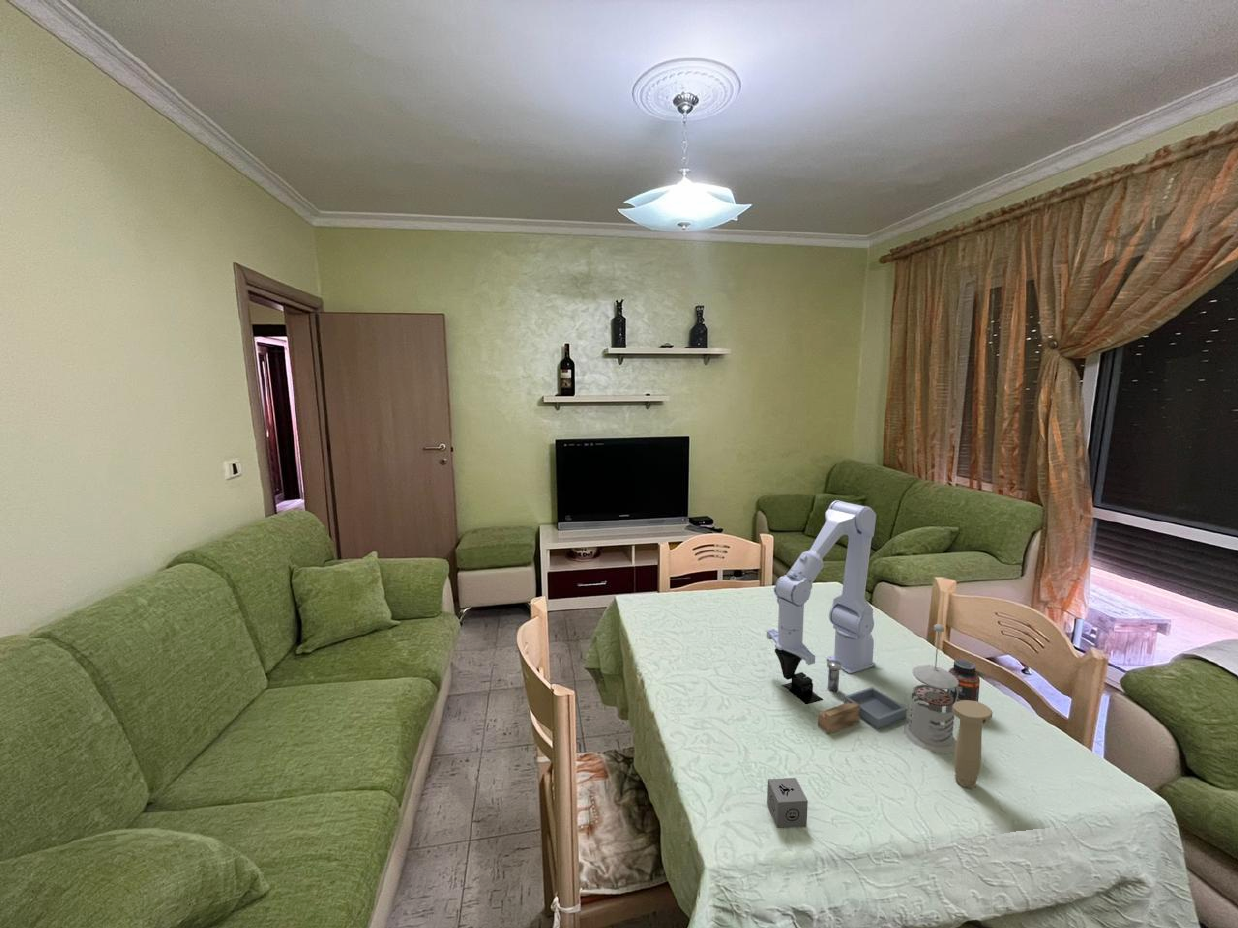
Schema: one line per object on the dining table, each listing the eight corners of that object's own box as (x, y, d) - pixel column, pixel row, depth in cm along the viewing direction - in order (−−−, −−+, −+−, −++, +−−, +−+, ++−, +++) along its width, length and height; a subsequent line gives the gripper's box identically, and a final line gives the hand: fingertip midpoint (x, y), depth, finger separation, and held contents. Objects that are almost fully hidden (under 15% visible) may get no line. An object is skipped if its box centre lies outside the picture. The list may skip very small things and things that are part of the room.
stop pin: (832, 684, 124) (834, 658, 123) (843, 691, 121) (844, 665, 120) (822, 687, 123) (824, 661, 122) (833, 694, 120) (834, 668, 119)
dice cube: (766, 804, 89) (767, 779, 88) (794, 802, 89) (795, 777, 88) (777, 828, 84) (778, 802, 83) (806, 827, 84) (807, 800, 83)
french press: (892, 728, 108) (900, 619, 104) (929, 714, 112) (937, 609, 109) (937, 759, 99) (947, 640, 95) (974, 742, 103) (985, 628, 100)
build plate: (832, 705, 117) (833, 687, 116) (807, 713, 114) (808, 695, 114) (795, 677, 128) (796, 660, 128) (772, 684, 126) (772, 667, 125)
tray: (871, 696, 119) (872, 686, 119) (906, 718, 111) (907, 708, 111) (843, 706, 116) (844, 696, 115) (877, 730, 107) (878, 719, 107)
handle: (939, 776, 94) (946, 703, 92) (967, 770, 96) (974, 697, 94) (962, 796, 90) (970, 719, 88) (991, 789, 91) (999, 713, 89)
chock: (847, 714, 113) (848, 697, 112) (859, 722, 110) (860, 704, 109) (817, 725, 109) (818, 707, 109) (828, 733, 106) (829, 715, 106)
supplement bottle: (972, 704, 116) (976, 658, 114) (981, 720, 110) (985, 672, 108) (942, 699, 118) (946, 654, 116) (949, 715, 112) (953, 668, 110)
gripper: (757, 616, 126) (756, 666, 128) (799, 642, 113) (797, 697, 115) (779, 611, 129) (778, 660, 131) (823, 635, 116) (820, 690, 118)
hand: (788, 677), depth 123 cm, fingers closed
